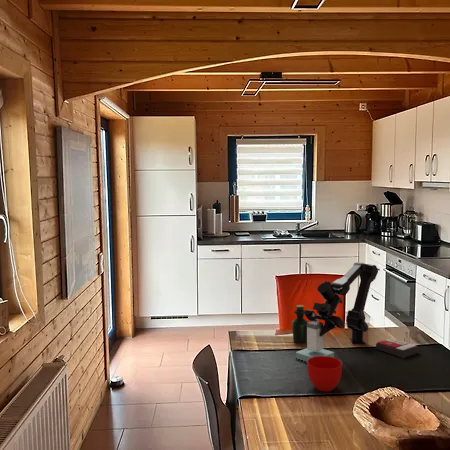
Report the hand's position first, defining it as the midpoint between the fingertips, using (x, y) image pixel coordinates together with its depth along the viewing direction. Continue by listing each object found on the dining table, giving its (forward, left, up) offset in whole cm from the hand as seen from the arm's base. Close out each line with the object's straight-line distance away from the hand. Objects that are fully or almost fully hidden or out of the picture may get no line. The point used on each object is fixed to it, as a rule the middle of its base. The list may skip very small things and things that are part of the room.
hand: (315, 334), depth 209 cm
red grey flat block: (-10, +39, -12) cm, 42 cm away
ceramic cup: (+28, 0, -11) cm, 30 cm away
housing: (0, 0, -7) cm, 7 cm away
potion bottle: (-23, -4, -11) cm, 26 cm away
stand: (0, 0, -11) cm, 11 cm away
